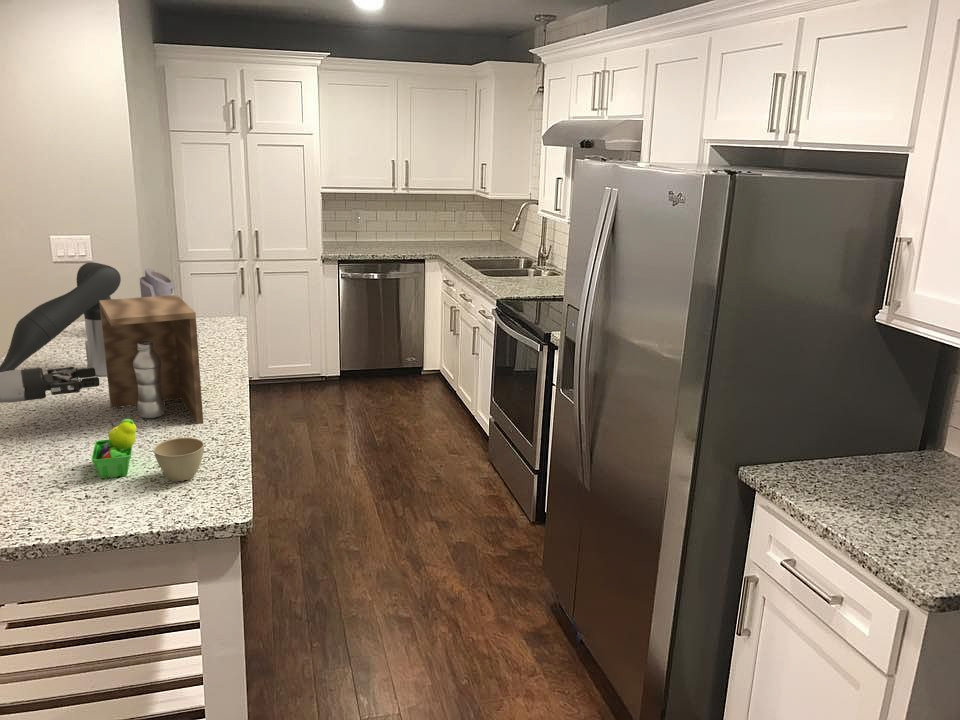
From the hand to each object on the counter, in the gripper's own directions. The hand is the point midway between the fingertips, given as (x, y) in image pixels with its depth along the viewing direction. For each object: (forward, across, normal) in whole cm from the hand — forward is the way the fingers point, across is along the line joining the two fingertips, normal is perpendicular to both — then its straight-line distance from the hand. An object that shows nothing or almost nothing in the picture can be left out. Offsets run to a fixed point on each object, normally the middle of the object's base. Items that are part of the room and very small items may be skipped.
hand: (97, 376), depth 188 cm
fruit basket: (0, +31, -13) cm, 33 cm away
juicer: (+24, -86, -13) cm, 90 cm away
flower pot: (+11, +41, -13) cm, 44 cm away
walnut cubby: (+13, -1, -12) cm, 18 cm away
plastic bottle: (+12, 0, -13) cm, 17 cm away
